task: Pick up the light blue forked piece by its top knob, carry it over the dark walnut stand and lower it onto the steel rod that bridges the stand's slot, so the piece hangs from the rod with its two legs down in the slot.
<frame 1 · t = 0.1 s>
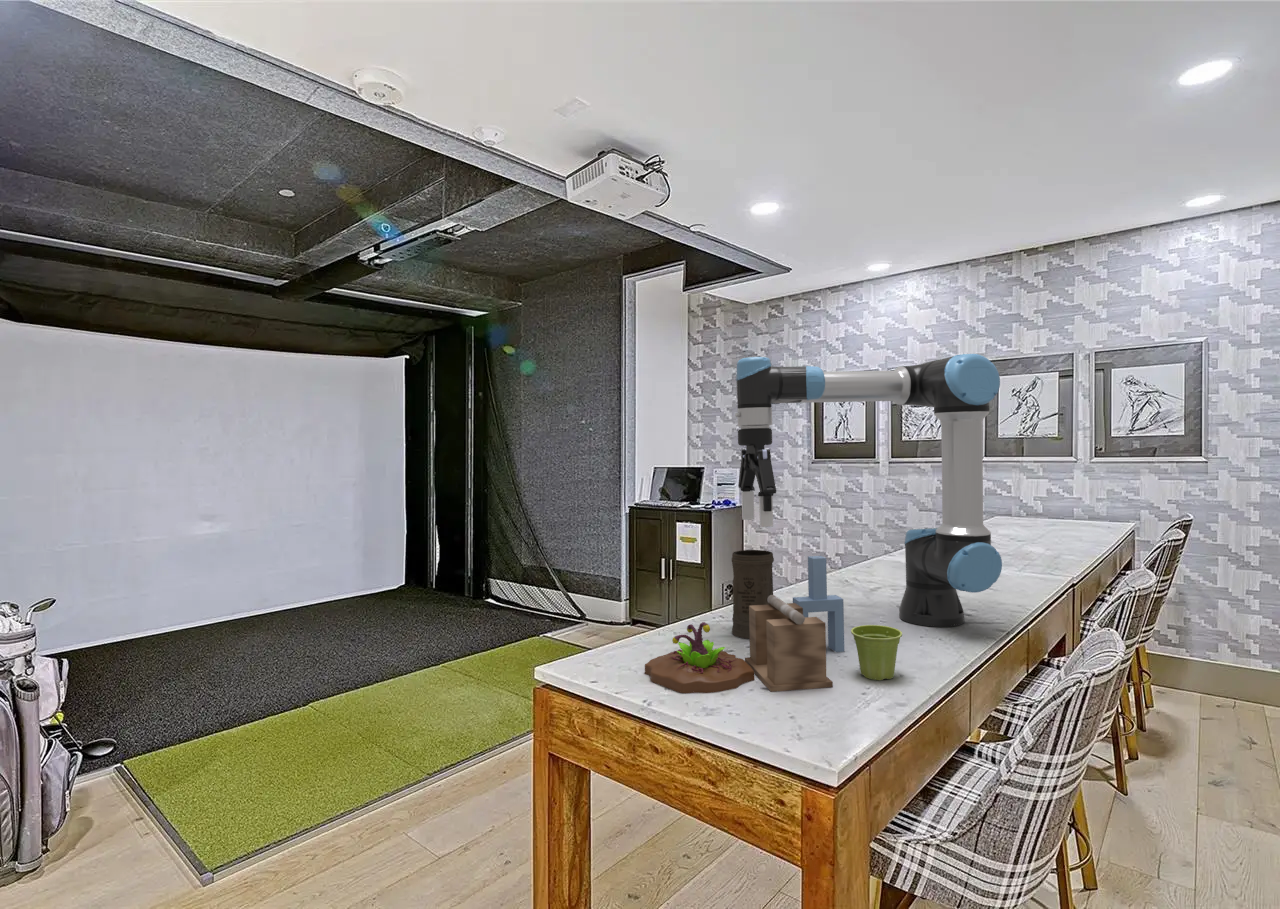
hand: (756, 523, 152), 28 cm above the table, tool pointing down, fingers open, 13 cm apart
hanger stand: (786, 674, 135), on the table
beer stein: (754, 631, 166), on the table
light blue forked piece: (818, 650, 150), on the table
plant pot: (877, 676, 133), on the table
plant: (699, 677, 136), on the table
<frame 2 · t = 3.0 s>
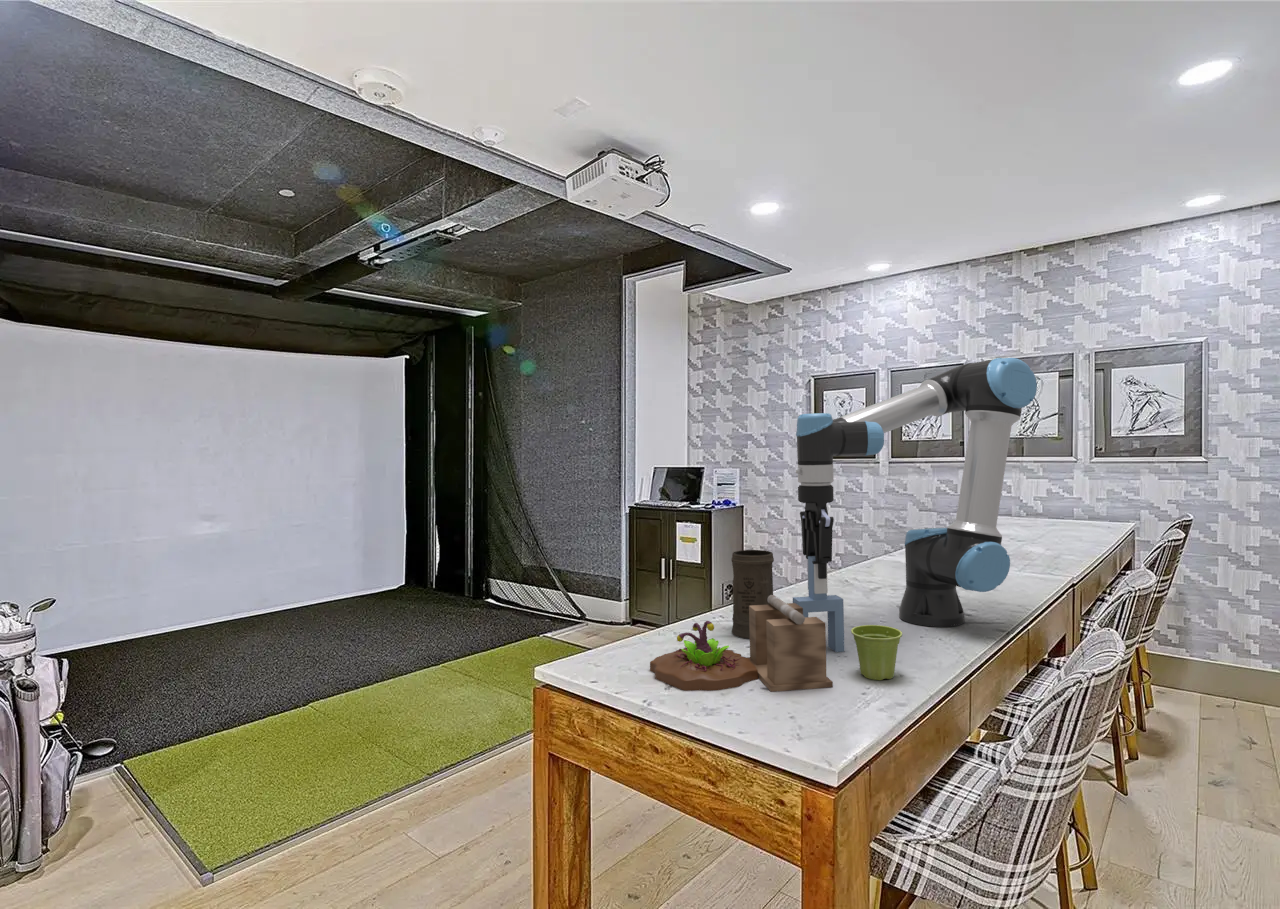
hand: (817, 591, 149), 13 cm above the table, tool pointing down, fingers closed on light blue forked piece, 3 cm apart
light blue forked piece: (818, 650, 150), on the table, touching gripper
plant: (704, 675, 137), on the table
everything else where it was.
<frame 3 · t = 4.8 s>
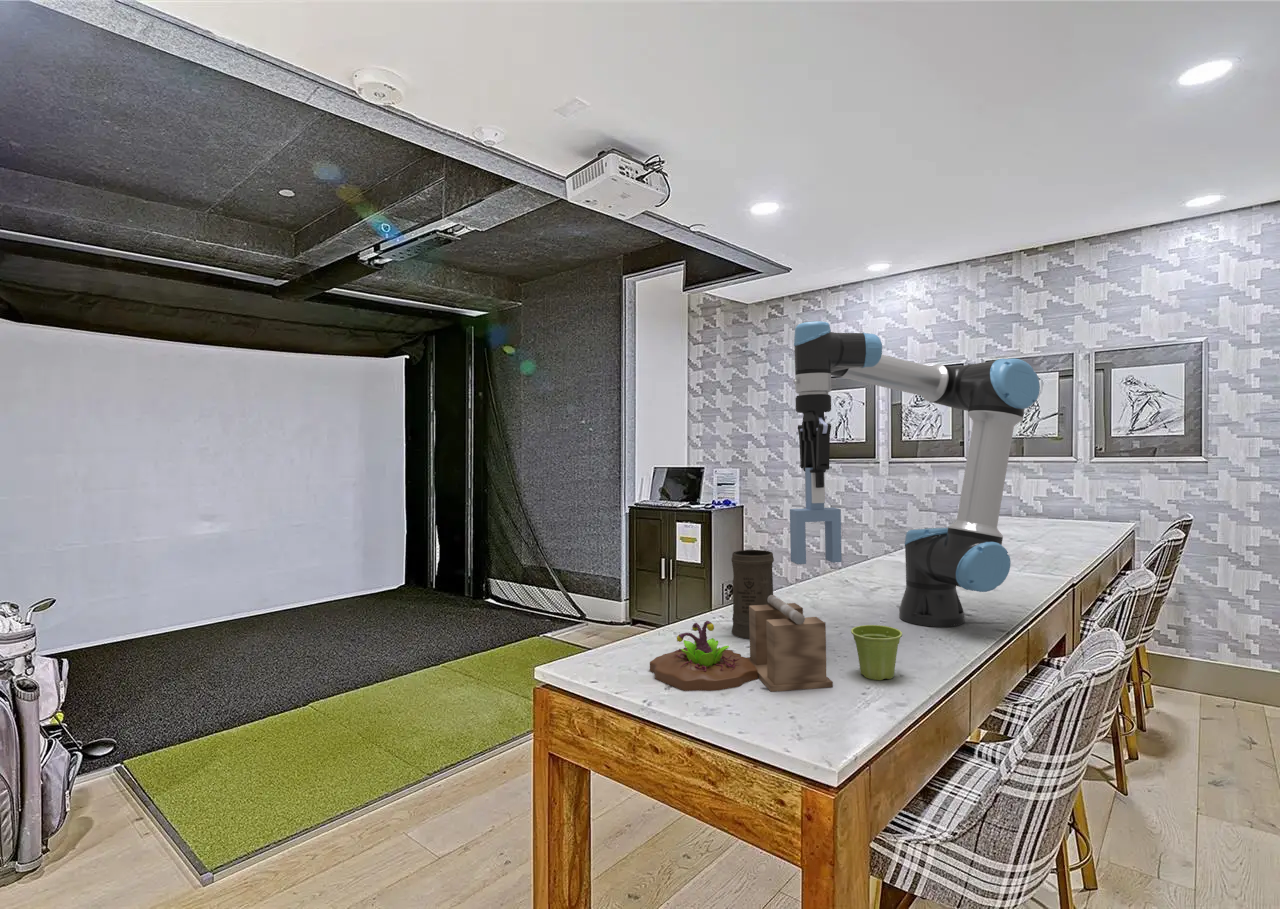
hand: (815, 501, 149), 33 cm above the table, tool pointing down, fingers closed on light blue forked piece, 3 cm apart
light blue forked piece: (815, 561, 149), point 20 cm above the table, touching gripper
everything else where it was.
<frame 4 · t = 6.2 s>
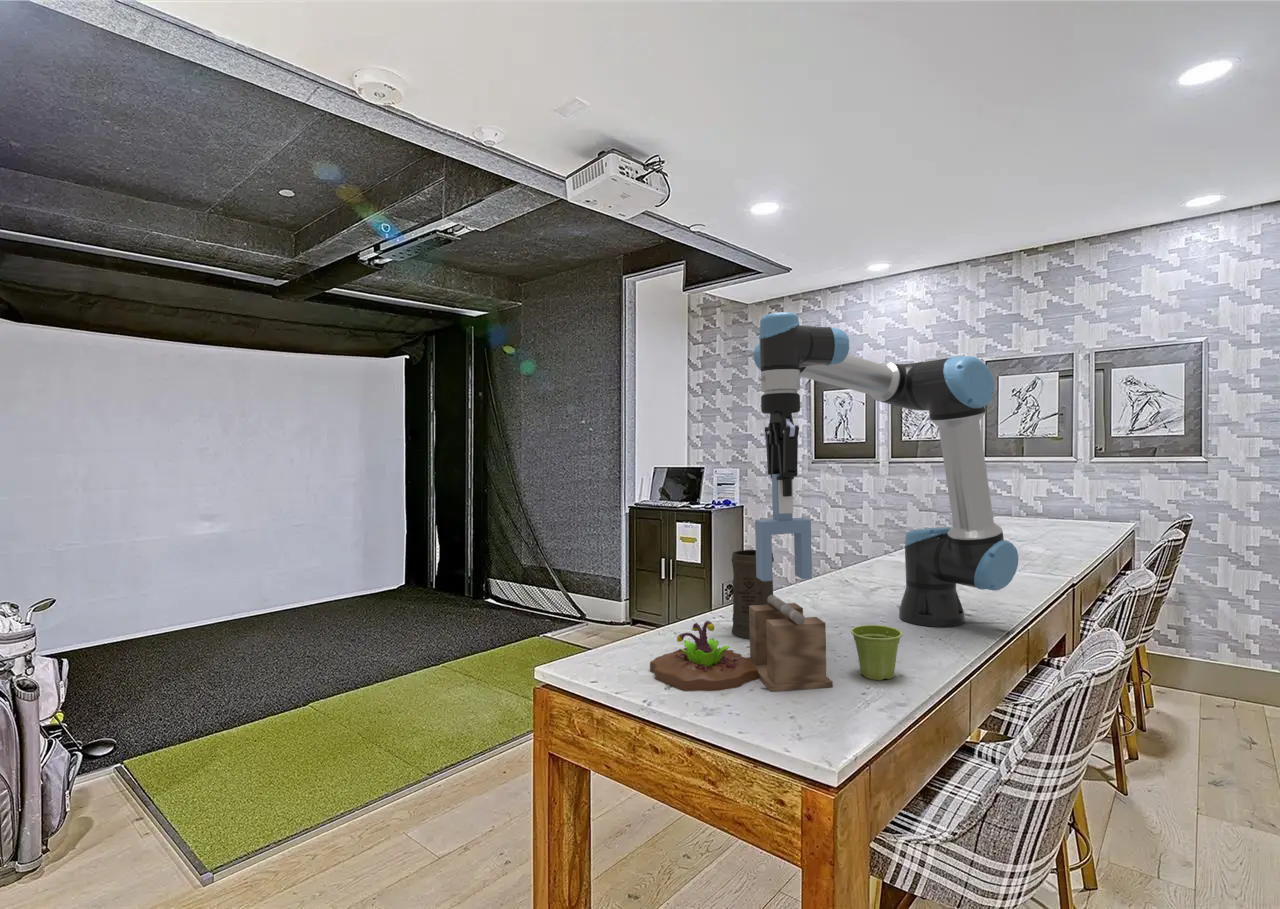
hand: (782, 512, 134), 32 cm above the table, tool pointing down, fingers closed on light blue forked piece, 3 cm apart
light blue forked piece: (783, 577, 135), point 19 cm above the table, touching gripper
everything else where it was.
when the fingers open (20 cm above the table, at t = 9.6 s): light blue forked piece drops 1 cm, resting on hanger stand.
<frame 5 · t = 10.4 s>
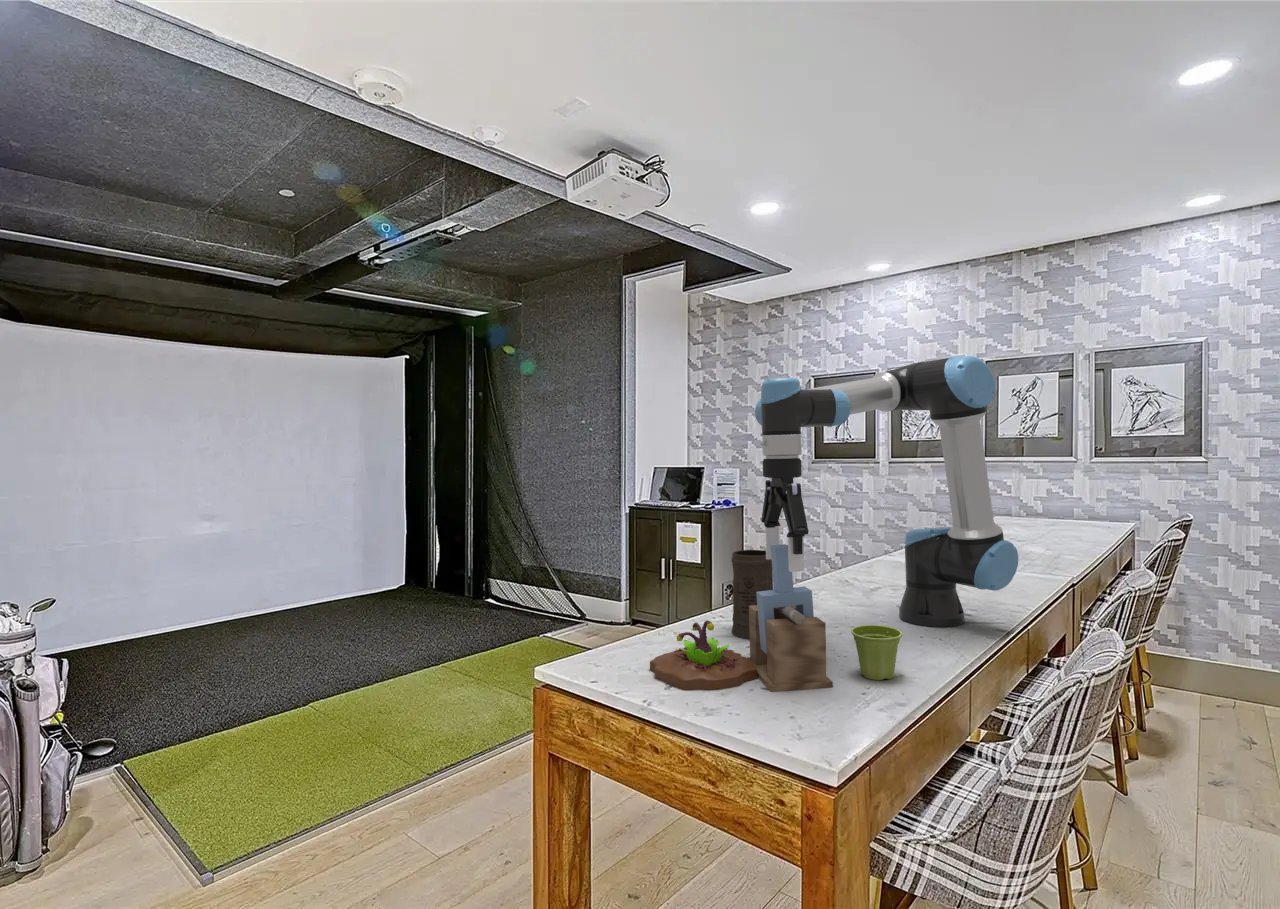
hand: (784, 564, 135), 22 cm above the table, tool pointing down, fingers open, 13 cm apart
light blue forked piece: (788, 648, 135), point 5 cm above the table, touching hanger stand
everything else where it was.
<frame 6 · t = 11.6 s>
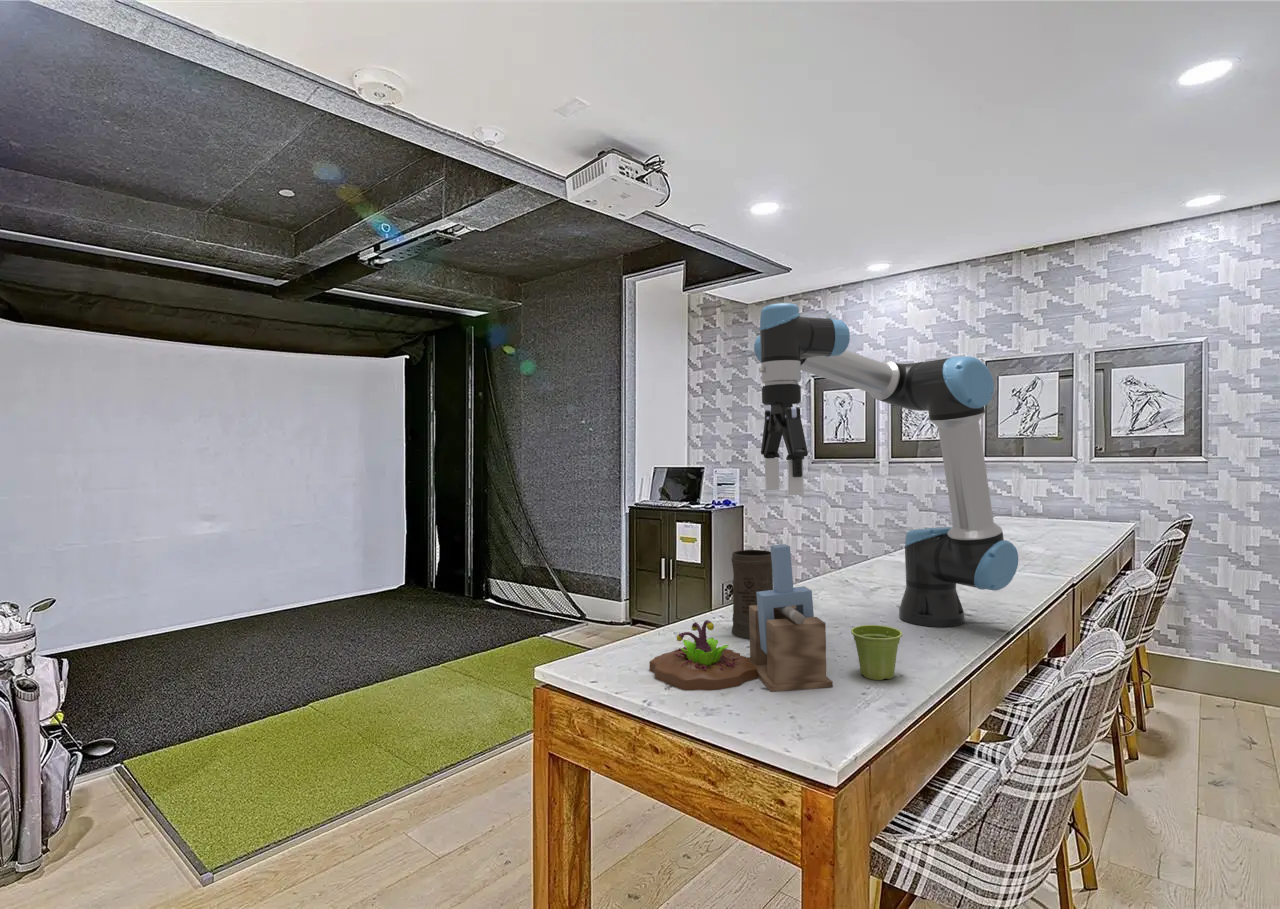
hand: (783, 492, 134), 36 cm above the table, tool pointing down, fingers open, 13 cm apart
nothing on the table moved.
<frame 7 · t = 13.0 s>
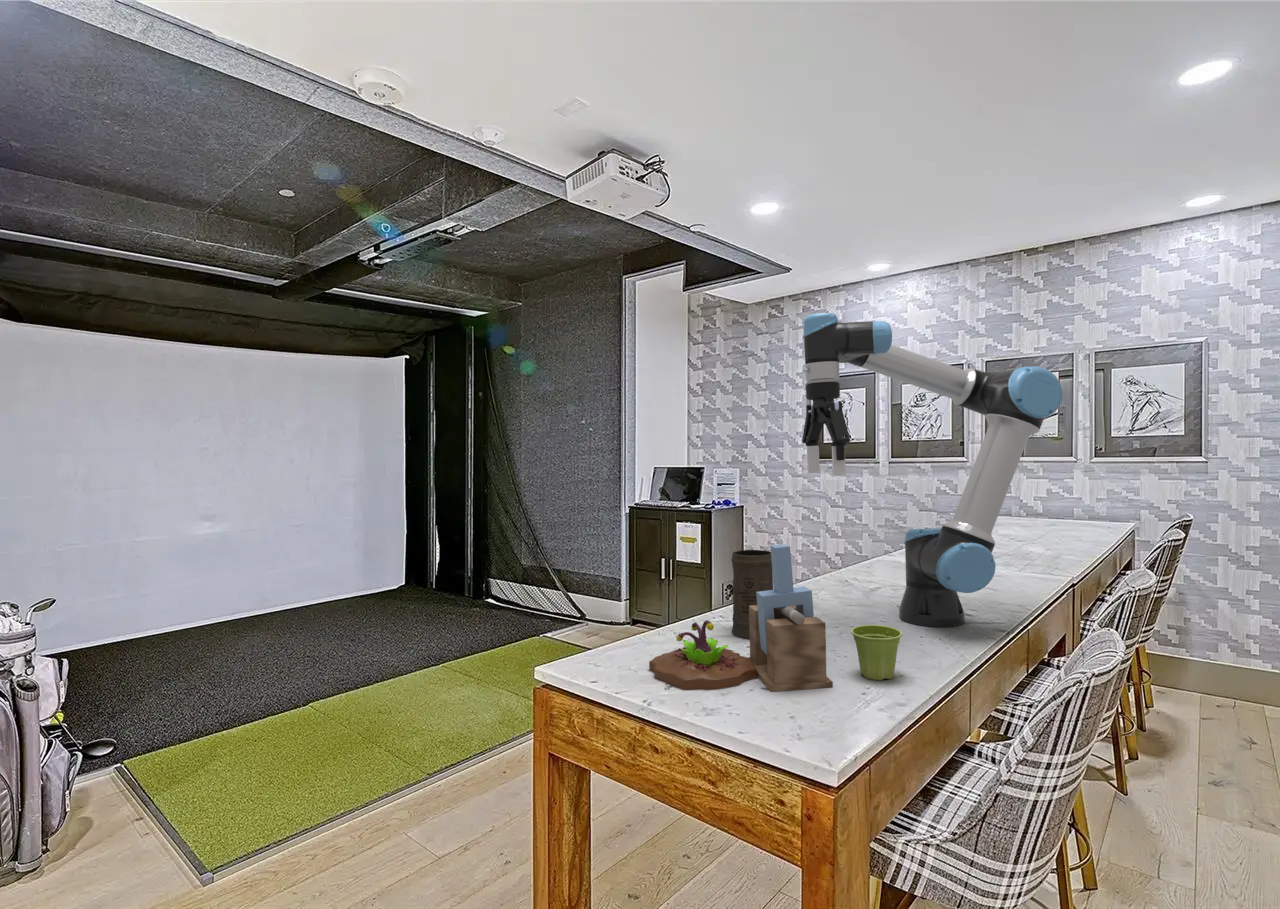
hand: (826, 474, 157), 38 cm above the table, tool pointing down, fingers open, 13 cm apart
nothing on the table moved.
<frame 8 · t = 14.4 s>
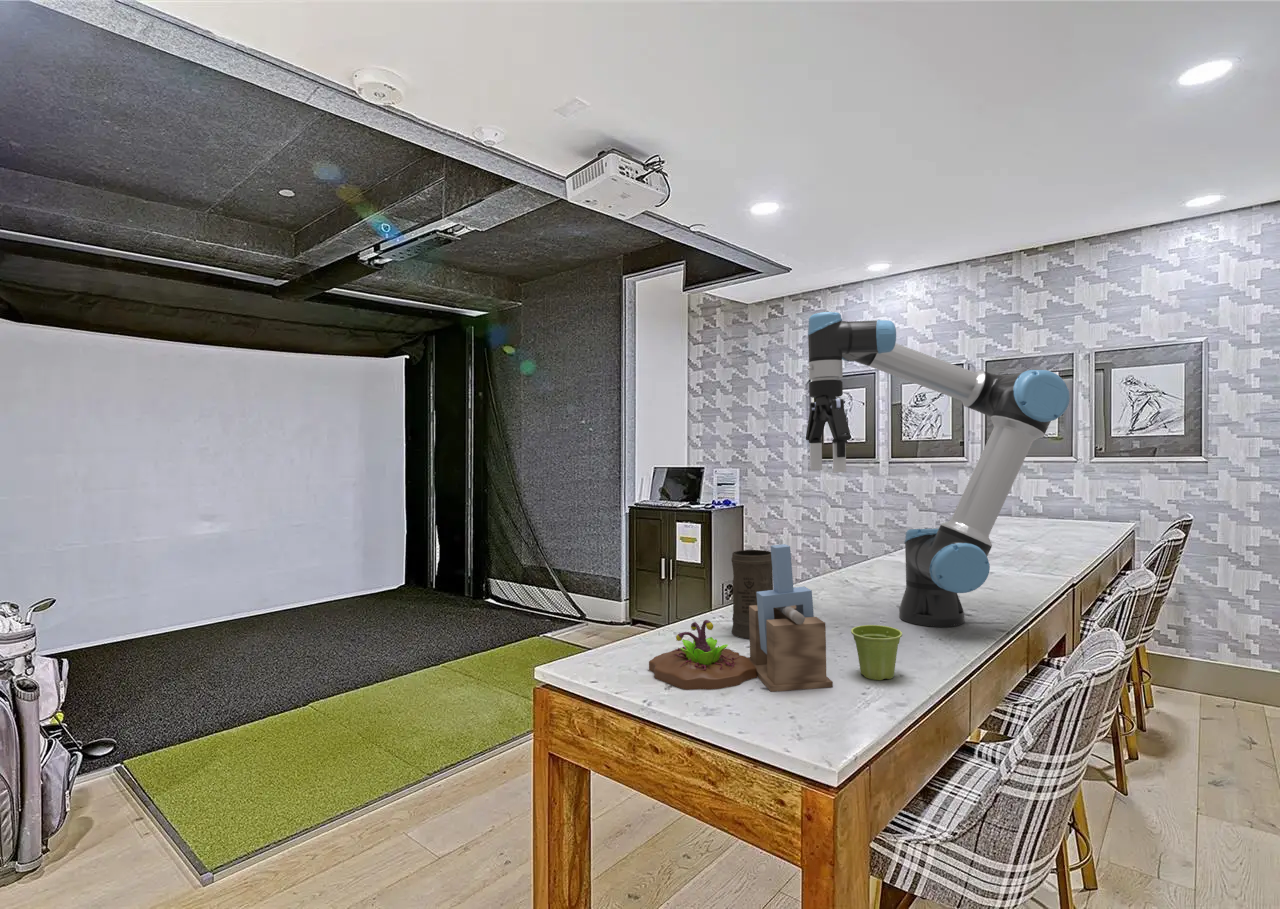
hand: (827, 471, 160), 39 cm above the table, tool pointing down, fingers open, 13 cm apart
nothing on the table moved.
at the end: light blue forked piece 0.3 cm off-centre on the hanger stand, point 5.0 cm above the hanger stand's base; light blue forked piece tilted 2°; the gripper is holding nothing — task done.
